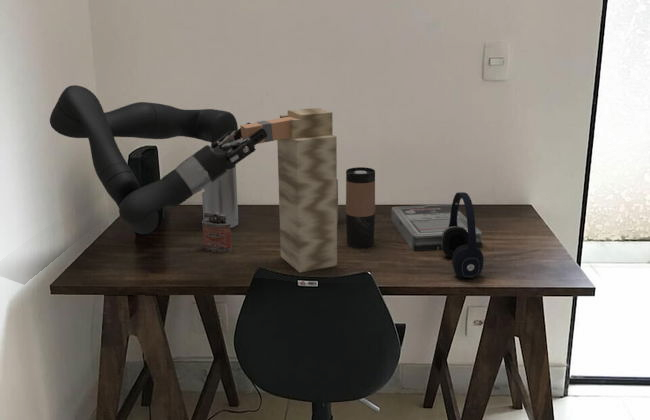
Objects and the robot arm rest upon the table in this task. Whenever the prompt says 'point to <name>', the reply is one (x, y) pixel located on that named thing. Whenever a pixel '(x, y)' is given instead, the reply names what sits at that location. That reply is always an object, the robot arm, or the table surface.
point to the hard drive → (427, 225)
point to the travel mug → (360, 207)
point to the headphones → (462, 241)
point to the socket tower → (308, 191)
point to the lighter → (216, 232)
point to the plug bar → (269, 129)
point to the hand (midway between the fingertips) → (258, 128)
